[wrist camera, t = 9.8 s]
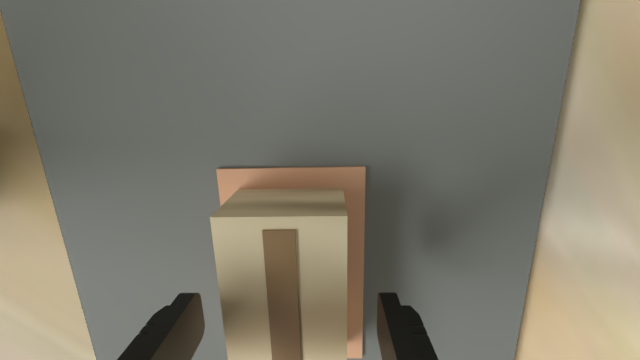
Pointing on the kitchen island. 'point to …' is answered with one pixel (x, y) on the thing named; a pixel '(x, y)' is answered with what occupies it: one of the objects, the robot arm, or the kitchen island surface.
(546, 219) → the kitchen island surface
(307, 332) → the maple deck block
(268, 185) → the rubber mat
